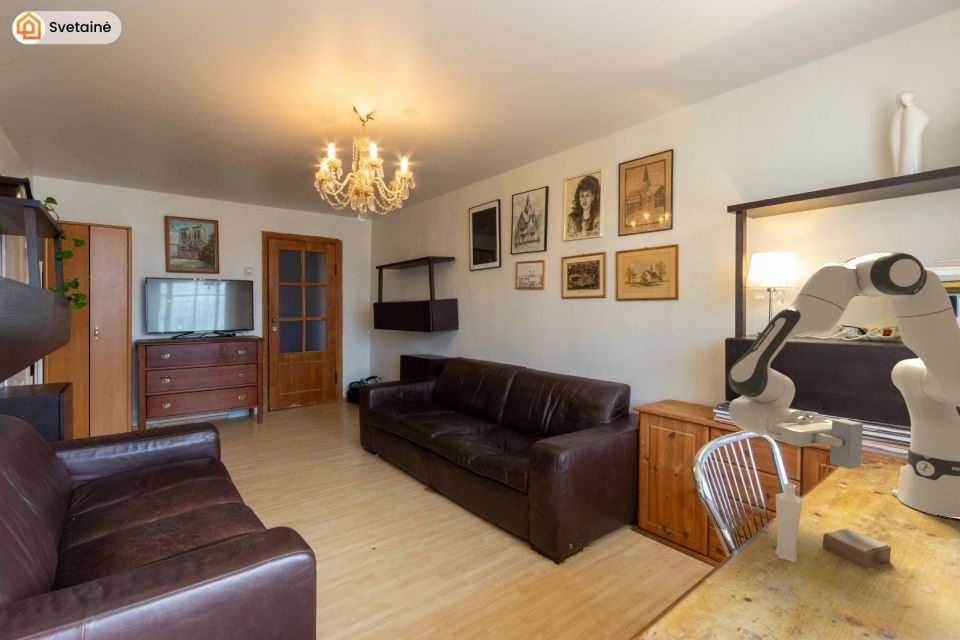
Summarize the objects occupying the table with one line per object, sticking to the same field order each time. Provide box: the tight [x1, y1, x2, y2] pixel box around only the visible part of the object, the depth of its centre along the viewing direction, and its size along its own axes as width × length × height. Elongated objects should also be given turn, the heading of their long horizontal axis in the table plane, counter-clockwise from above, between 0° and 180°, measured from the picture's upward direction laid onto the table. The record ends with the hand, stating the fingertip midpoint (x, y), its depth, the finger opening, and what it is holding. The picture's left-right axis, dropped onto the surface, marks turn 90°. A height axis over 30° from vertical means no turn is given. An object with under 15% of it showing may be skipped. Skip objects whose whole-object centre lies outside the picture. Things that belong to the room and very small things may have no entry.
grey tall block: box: [829, 418, 864, 470], centre depth 103 cm, size 4×4×10 cm
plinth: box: [822, 528, 892, 569], centre depth 95 cm, size 8×8×3 cm
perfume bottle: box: [774, 482, 803, 563], centre depth 93 cm, size 5×4×15 cm
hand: (850, 442), depth 102 cm, fingers closed on grey tall block, 4 cm apart
